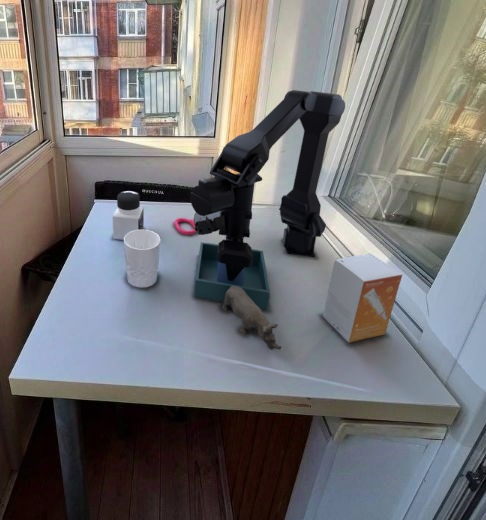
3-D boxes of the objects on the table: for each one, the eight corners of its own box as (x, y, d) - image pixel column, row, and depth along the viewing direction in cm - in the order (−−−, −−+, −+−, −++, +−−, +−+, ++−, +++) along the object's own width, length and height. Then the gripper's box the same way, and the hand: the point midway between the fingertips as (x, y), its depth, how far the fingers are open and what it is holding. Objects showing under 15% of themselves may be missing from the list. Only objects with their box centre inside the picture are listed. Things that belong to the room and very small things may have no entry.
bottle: (242, 273, 75) (247, 231, 72) (243, 290, 70) (248, 246, 67) (217, 269, 76) (220, 228, 73) (216, 286, 71) (219, 242, 68)
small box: (348, 344, 58) (363, 281, 54) (321, 316, 63) (333, 258, 60) (386, 335, 59) (403, 274, 55) (356, 309, 65) (370, 252, 61)
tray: (260, 266, 78) (262, 250, 77) (267, 310, 65) (270, 292, 64) (199, 257, 82) (200, 241, 80) (194, 297, 68) (195, 280, 67)
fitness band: (201, 234, 91) (201, 229, 91) (181, 237, 90) (181, 232, 90) (190, 220, 99) (190, 215, 99) (171, 222, 98) (171, 217, 97)
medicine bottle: (138, 242, 88) (138, 201, 84) (112, 239, 89) (111, 198, 86) (143, 228, 95) (143, 189, 91) (119, 225, 96) (118, 187, 92)
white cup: (164, 272, 76) (165, 234, 73) (151, 294, 69) (152, 253, 66) (133, 263, 79) (133, 226, 76) (118, 283, 72) (117, 244, 69)
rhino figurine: (268, 367, 54) (272, 337, 52) (217, 307, 66) (220, 282, 64) (287, 358, 55) (292, 329, 53) (234, 302, 67) (237, 277, 65)
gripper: (200, 182, 78) (196, 240, 83) (193, 219, 61) (188, 290, 66) (250, 187, 76) (243, 246, 80) (256, 228, 58) (247, 301, 63)
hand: (230, 268), depth 72 cm, fingers closed on bottle, 8 cm apart
